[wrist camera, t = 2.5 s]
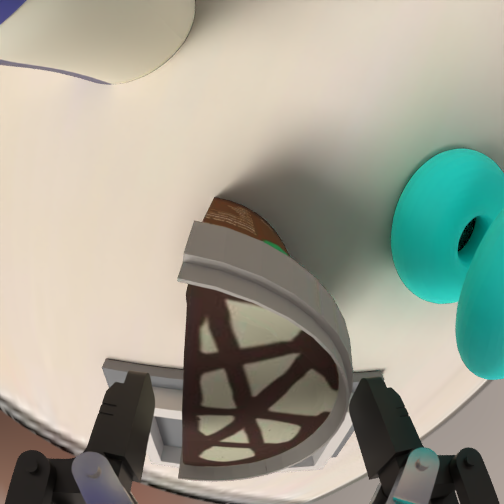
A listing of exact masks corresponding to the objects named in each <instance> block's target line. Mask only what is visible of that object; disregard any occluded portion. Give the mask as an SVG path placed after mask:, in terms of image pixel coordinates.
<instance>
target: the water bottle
mask: <svg viewBox="0 0 504 504" xmlns="http://www.w3.org/2000/svg"><path fill="white" fill-rule="evenodd" d="M194 16H195V0H0V65H7V66H15V67H25V68H33V69H40V70H47V71H52V72H57V73H62V74H66V75H70V76H74V77H78V78H81V79H85V80H88V81H92V82H95V83H100V84H121V83H126V82H130V81H133V80H136V79H138V78H141V77H143V76H145V75H147V74H149V73H151V72H152V71H154V70H155V69H157V68H158V67H160V66H161V65H162V64H164V63H165V62H166V61H167V60H168V59H169V58H170V57H172V56H173V54H174V53H175V52H176V51H177V50H178V49H179V48H180V46H181V45H182V44H183V43H184V41H185V39H186V37H187V35H188V33H189V31H190V29H191V27H192V24H193V20H194Z"/></svg>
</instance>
